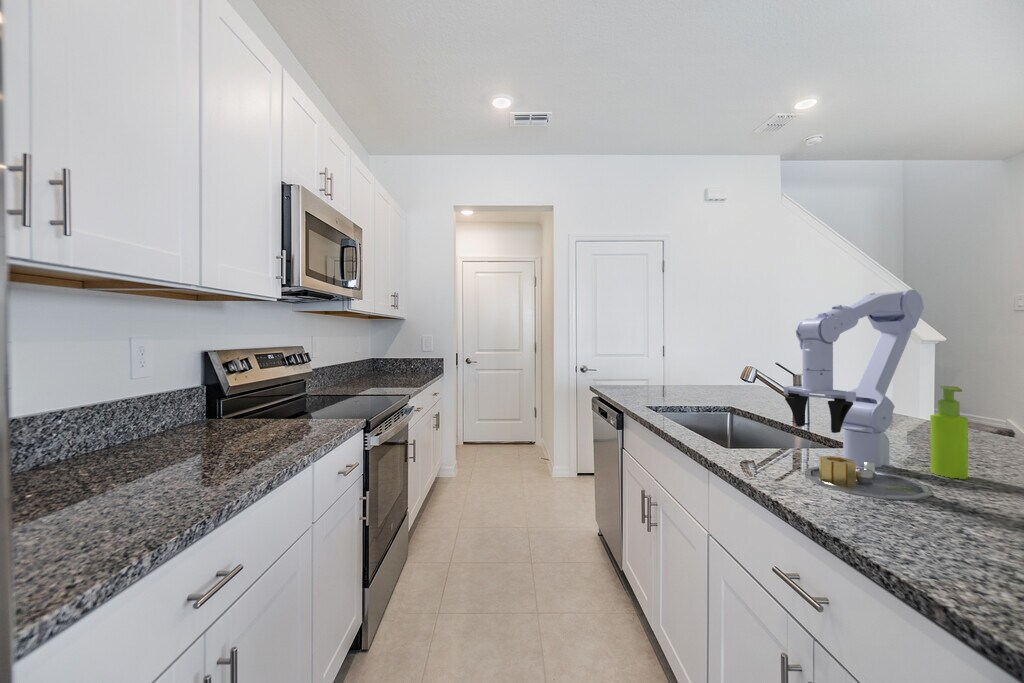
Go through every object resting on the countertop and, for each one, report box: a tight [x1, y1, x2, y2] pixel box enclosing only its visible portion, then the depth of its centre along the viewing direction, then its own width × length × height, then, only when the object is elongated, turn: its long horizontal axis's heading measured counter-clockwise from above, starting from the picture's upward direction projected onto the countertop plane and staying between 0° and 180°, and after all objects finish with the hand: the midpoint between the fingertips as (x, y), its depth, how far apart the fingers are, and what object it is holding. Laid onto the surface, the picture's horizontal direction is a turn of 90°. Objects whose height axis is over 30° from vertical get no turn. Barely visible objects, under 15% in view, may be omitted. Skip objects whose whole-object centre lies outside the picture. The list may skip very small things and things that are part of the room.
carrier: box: [804, 462, 933, 501], centre depth 89 cm, size 20×20×4 cm
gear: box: [818, 455, 857, 486], centre depth 89 cm, size 6×6×4 cm
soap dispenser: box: [929, 385, 969, 480], centre depth 96 cm, size 6×7×20 cm
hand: (817, 429), depth 99 cm, fingers open, 7 cm apart
